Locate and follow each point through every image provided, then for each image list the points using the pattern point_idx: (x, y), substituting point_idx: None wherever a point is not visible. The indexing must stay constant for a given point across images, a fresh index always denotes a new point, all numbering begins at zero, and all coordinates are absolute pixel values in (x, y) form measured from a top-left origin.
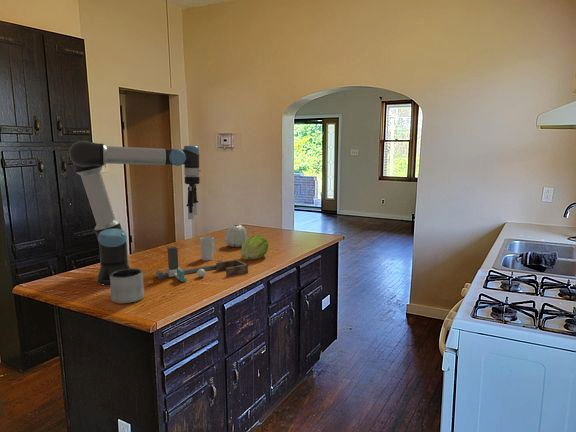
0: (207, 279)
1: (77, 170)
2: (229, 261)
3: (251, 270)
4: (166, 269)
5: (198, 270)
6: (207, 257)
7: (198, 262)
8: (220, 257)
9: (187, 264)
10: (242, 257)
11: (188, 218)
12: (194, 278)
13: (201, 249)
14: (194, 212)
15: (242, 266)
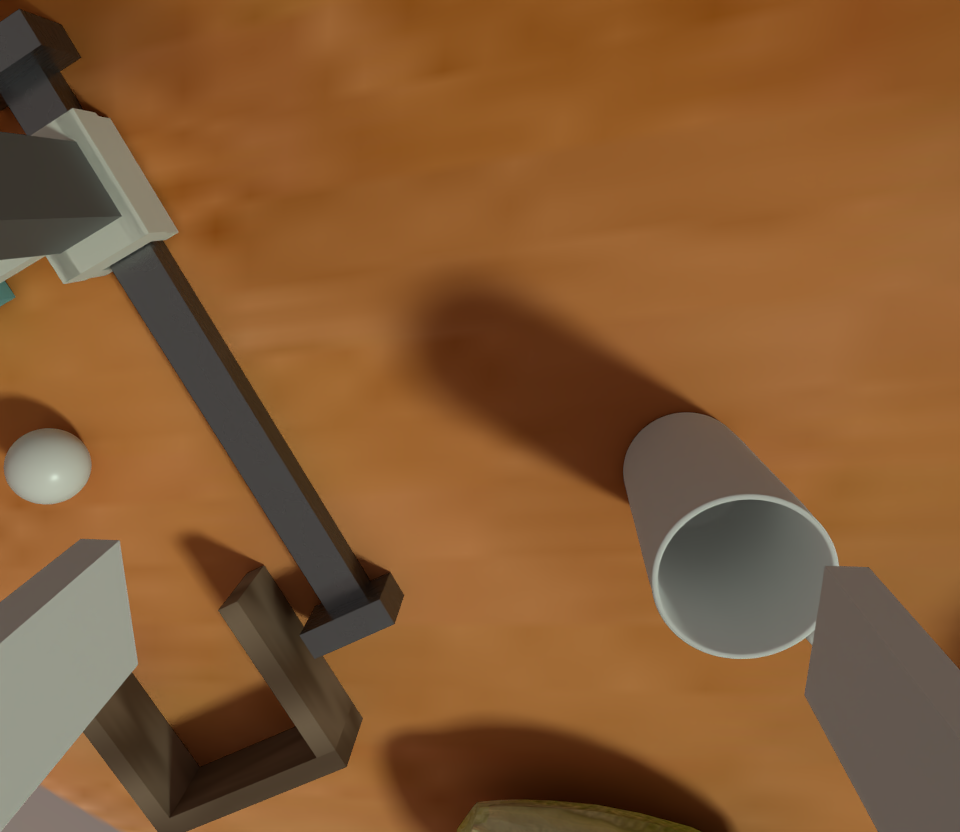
0: (15, 504)
1: None
2: (287, 709)
3: (257, 814)
4: (53, 124)
5: (14, 453)
6: (625, 486)
7: (560, 390)
8: None
9: (495, 284)
10: (475, 808)
11: (70, 556)
12: (35, 399)
13: (673, 454)
14: (845, 694)
15: (137, 797)
